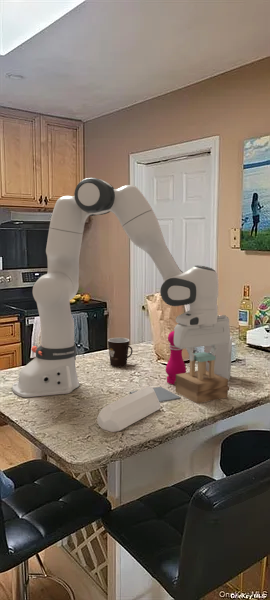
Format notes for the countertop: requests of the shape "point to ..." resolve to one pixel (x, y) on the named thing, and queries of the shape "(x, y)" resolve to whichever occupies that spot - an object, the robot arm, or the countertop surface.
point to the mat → (163, 394)
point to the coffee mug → (118, 351)
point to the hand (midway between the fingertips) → (202, 359)
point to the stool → (203, 365)
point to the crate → (201, 387)
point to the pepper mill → (174, 361)
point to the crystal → (128, 409)
